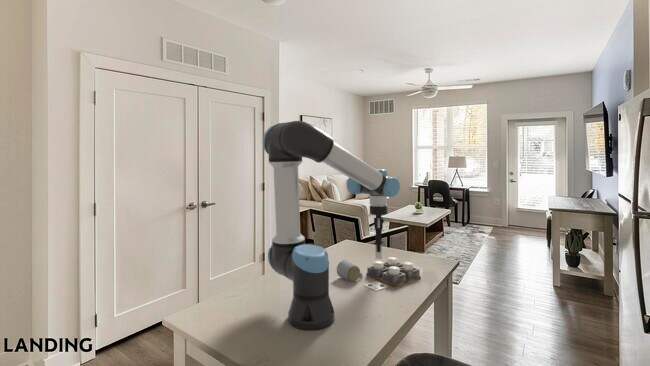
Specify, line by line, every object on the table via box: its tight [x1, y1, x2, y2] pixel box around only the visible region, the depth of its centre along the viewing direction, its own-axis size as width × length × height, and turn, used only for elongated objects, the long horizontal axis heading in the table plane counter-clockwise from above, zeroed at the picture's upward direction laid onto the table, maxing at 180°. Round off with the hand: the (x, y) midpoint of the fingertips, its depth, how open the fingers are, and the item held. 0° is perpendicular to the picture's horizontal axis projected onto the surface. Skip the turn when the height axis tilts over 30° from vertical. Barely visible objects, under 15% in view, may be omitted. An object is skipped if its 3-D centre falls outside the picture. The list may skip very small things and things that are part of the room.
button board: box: [366, 261, 422, 289], centre depth 145 cm, size 16×17×4 cm
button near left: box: [372, 260, 384, 271], centre depth 146 cm, size 4×4×3 cm
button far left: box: [386, 256, 398, 266], centre depth 151 cm, size 4×4×3 cm
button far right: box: [402, 261, 414, 272], centre depth 144 cm, size 4×4×3 cm
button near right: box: [389, 266, 400, 277], centre depth 139 cm, size 4×4×3 cm
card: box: [363, 280, 389, 292], centre depth 136 cm, size 7×7×1 cm
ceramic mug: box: [336, 259, 364, 283], centre depth 144 cm, size 11×8×8 cm
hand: (378, 258), depth 146 cm, fingers closed
